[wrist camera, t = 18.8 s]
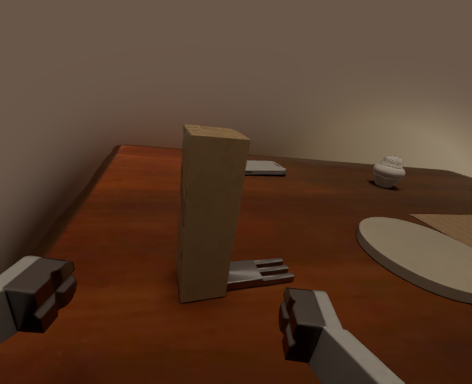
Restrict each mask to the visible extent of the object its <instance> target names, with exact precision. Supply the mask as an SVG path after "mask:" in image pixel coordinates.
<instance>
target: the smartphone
mask: <svg viewBox="0 0 472 384" xmlns="http://www.w3.org/2000/svg"><path fill="white" fill-rule="evenodd" d="M286 172H287V170H286V169H285V168H283V167H282V166H280V165H278V164H277V163H275V162H273V161H247V164H246V171H245V174H270V175H283V174H286Z"/></svg>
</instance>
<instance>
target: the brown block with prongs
mask: <svg viewBox="0 0 472 384" xmlns="http://www.w3.org/2000/svg"><path fill="white" fill-rule="evenodd" d="M249 145H250V139H249V138H247V137H245V136H244V135H242V134H240V133H238V132H237V131H235V130H233V129H226V128H217V127H207V126H197V125H185V124H184V126H183V144H182V163H181V182H180V201H179V220H178V240H177V259H176V275H177V283H178V291H179V298H180V303H184V302H191V301H197V300H203V299H210V298H216V297H223V296H225V294H226V291H227V290H234V289H241V288H247V287H254V286H261V285H262V286H265V285H272V284H278V283H285V282H292V281H293V280H294V275H293V273H288V269H289V268H288V267H287V265H282V264H283V260H282V259H281V258H275V259H265V260H256V261H253V260H244V261H235V262H231V257H232V251H233V245H234V239H235V232H236V226H237V220H238V214H239V208H240V202H241V195H242V189H243V183H244V177H245V171H246V164H247V158H248V152H249Z"/></svg>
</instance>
